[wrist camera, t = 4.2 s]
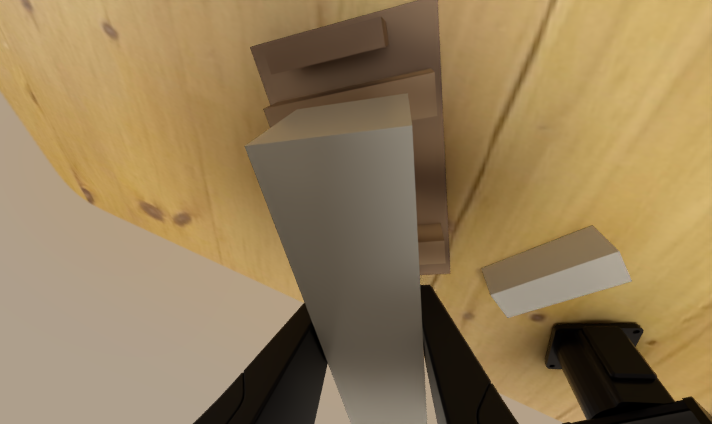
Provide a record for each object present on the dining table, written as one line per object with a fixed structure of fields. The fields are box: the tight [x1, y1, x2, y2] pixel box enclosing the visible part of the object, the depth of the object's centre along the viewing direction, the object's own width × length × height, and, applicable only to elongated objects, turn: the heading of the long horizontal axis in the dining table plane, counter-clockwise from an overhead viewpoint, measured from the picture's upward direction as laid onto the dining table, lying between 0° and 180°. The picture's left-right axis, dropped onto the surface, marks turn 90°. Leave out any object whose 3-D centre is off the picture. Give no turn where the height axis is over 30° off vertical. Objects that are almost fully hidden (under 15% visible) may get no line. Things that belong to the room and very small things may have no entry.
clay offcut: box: [481, 225, 632, 318], centre depth 20 cm, size 3×8×3 cm, turn 129°
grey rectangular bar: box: [245, 93, 427, 424], centre depth 9 cm, size 12×3×3 cm, turn 9°
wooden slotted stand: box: [250, 0, 450, 275], centre depth 17 cm, size 18×10×5 cm, turn 12°
